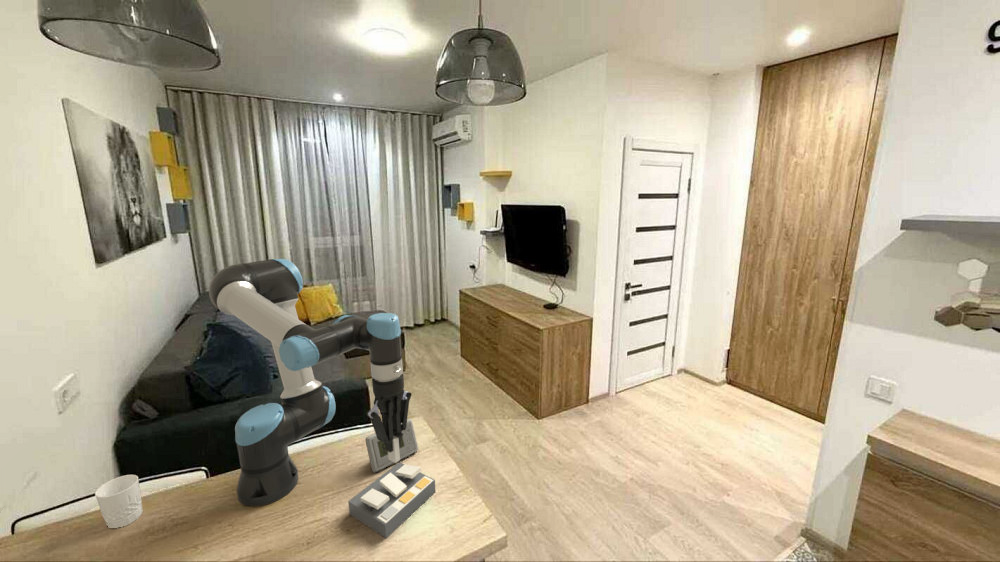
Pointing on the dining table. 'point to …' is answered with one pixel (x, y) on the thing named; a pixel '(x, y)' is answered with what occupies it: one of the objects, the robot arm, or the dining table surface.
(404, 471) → the switch
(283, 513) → the dining table surface
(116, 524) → the white cup
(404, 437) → the digital clock
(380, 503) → the switch
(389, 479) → the switch
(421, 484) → the panel
